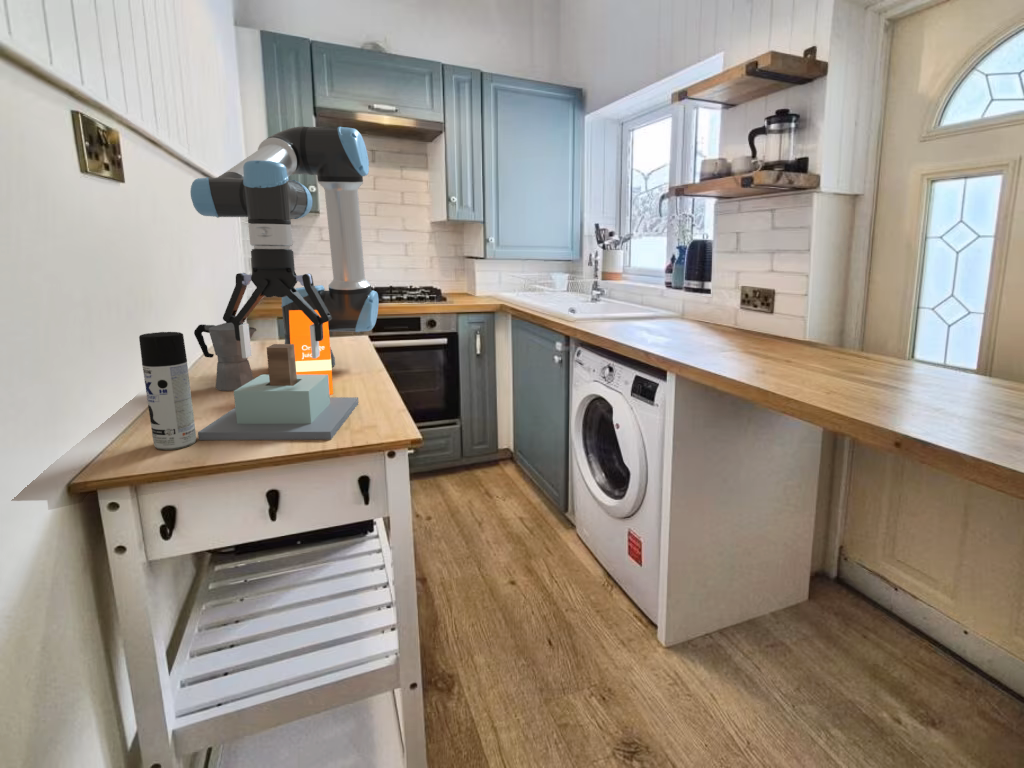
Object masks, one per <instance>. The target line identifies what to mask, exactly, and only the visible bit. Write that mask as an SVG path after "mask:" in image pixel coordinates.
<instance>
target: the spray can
mask: <svg viewBox="0 0 1024 768" xmlns="http://www.w3.org/2000/svg"><path fill="white" fill-rule="evenodd" d="M138 338H139V348H140V356H141V365H142V371H143V378H144V379H143V380H144V384H145V392H146V399H147V407H148V408H147V409H148V413H149V419H150V420H149V421H150V428H151V434H152V441H153V446H154V447H155V449H157V450H160V451H173V450H180V449H185V448H187V447H190V446H192V445H194V444H195V443H196V441H197V433H196V426H195V425H196V424H195V417H194V416H195V415H194V409H193V408H194V407H193V401H192V400H193V399H192V393H191V392H192V391H191V384H190V376H189V369H188V358H187V351H186V345H185V338H184V334H183V333H182V332H180V331H179V332H178V331H159V332H150V333H142V334H140V335H139V337H138Z"/></svg>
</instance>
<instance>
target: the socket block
mask: <svg viewBox="0 0 1024 768" xmlns="http://www.w3.org/2000/svg"><path fill="white" fill-rule="evenodd" d="M296 375H297V383H296V384H295V385H294V386H270V379H269V373H267V374H264V373H263V374H259V376H257V377H255V378H254V379H253V380H251V381H250V382H248V383H246V384H245V385H243V386H241V387H240V388H238V389H236V390H235V391H233V396H234V408H232V409H231V410H229V411H227V412H226V413H224V414H223V415H222V416H220V417H218V418H217V419H216V420H214V421H212V422H211V423H210V424H209V425H207V426H205V427H204V428H202V429H201V430H199V431H198V432H197V439H198V440H199V441H252V440H254V441H255V440H256V441H260V440H261V441H262V440H263V441H267V440H268V441H269V440H270V441H271V440H272V441H275V440H276V441H277V440H278V441H280V440H282V441H283V440H284V441H285V440H286V441H287V440H292V441H293V440H295V441H296V440H310V441H311V440H332V439H333V438H334V437H335V435H336V434H337V432H339V430H340V429H341V427H342V426H343V425H344V423H345V422H346V421H347V420H348V418H349V417H350V416H351V415H352V413H353V412H354V411H355V409H356V408H357V407H358V405H359V404H358V403H359V402H360V401H359V397H343V396H341V397H331V394H329V380H328V375H310V374H296ZM355 407H356V408H355ZM352 411H353V412H352ZM349 415H350V416H349Z"/></svg>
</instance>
